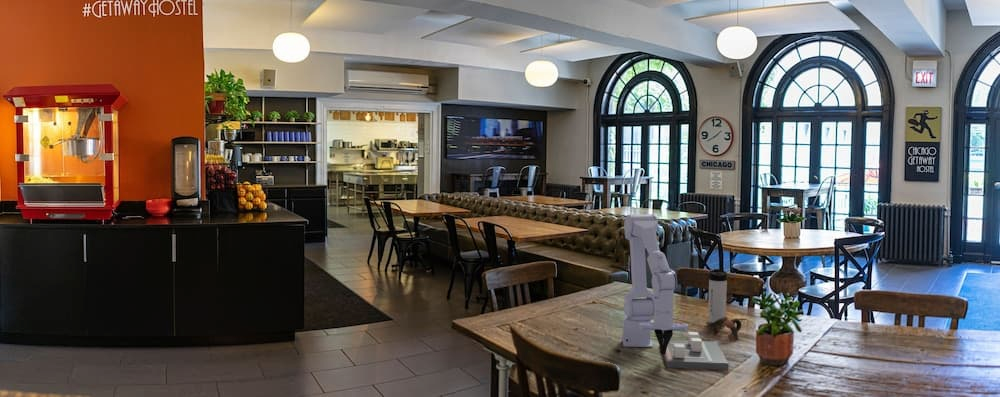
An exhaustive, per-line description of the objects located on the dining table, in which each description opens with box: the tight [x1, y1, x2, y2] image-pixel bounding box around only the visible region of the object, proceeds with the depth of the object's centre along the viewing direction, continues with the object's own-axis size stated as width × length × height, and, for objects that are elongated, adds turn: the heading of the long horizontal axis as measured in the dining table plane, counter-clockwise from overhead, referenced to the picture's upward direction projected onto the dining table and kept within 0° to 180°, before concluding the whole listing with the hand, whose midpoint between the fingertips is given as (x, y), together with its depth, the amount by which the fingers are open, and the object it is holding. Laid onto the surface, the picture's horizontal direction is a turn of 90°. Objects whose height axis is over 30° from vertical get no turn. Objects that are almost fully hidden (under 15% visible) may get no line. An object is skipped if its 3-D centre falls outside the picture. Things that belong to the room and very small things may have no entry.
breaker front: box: [674, 344, 685, 358], centre depth 217 cm, size 3×3×3 cm
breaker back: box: [687, 331, 700, 345], centre depth 230 cm, size 3×3×3 cm
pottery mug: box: [707, 316, 742, 342], centre depth 246 cm, size 12×10×8 cm
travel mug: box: [707, 268, 728, 327], centre depth 262 cm, size 6×7×20 cm
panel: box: [663, 339, 729, 371], centre depth 224 cm, size 18×22×2 cm
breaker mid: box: [691, 337, 703, 352], centre depth 223 cm, size 3×3×3 cm
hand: (663, 353), depth 218 cm, fingers closed
